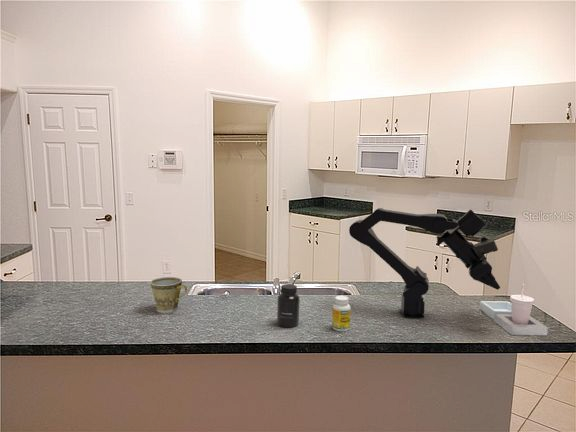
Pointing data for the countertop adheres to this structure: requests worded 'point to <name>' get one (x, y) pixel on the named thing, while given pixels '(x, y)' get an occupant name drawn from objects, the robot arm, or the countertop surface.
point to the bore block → (520, 326)
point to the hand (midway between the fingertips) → (496, 284)
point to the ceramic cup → (167, 293)
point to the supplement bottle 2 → (341, 314)
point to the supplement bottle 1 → (288, 306)
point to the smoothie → (521, 308)
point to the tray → (495, 308)
